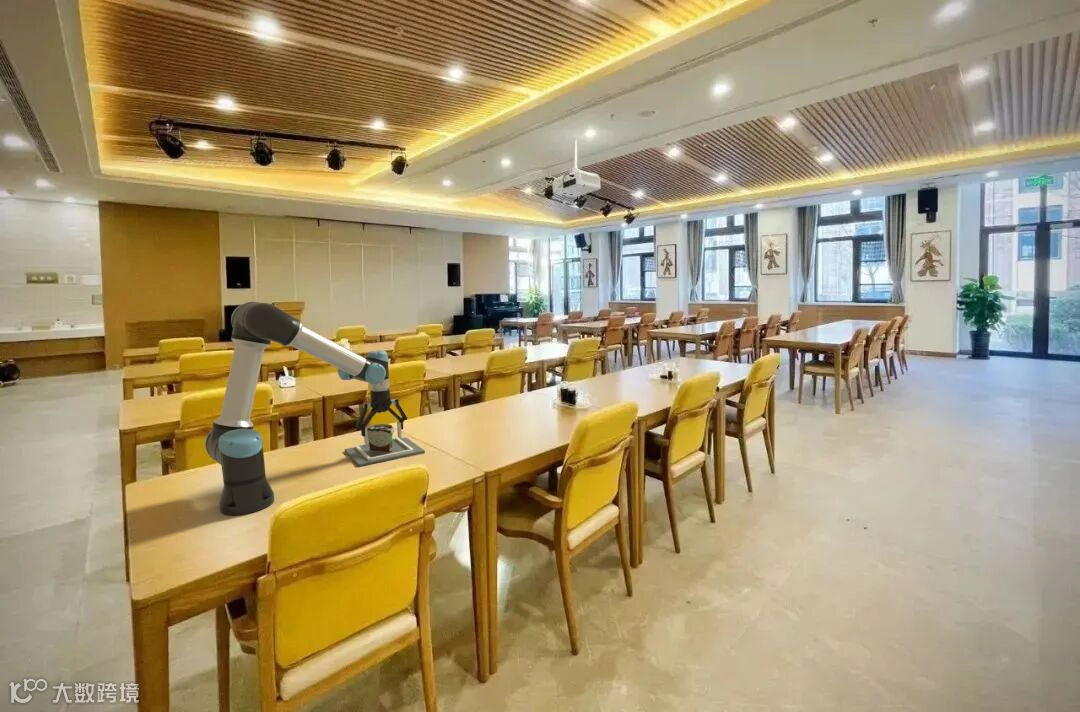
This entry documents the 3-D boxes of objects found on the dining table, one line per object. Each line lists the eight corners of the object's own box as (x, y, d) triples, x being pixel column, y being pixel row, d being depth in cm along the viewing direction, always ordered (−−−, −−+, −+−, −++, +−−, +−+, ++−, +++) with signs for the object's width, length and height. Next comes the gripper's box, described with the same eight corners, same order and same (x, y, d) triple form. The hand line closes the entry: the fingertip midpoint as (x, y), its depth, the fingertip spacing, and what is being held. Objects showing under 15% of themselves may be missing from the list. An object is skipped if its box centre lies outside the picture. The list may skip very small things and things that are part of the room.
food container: (401, 448, 215) (400, 424, 213) (393, 453, 209) (391, 429, 208) (375, 446, 219) (374, 422, 217) (366, 450, 213) (364, 427, 211)
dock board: (359, 466, 198) (358, 461, 197) (344, 451, 216) (344, 446, 215) (424, 452, 212) (424, 448, 212) (406, 439, 230) (405, 435, 230)
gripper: (350, 395, 200) (354, 448, 203) (413, 386, 214) (416, 437, 217) (345, 391, 206) (349, 443, 209) (407, 383, 220) (409, 432, 223)
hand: (383, 440), depth 213 cm, fingers open, 13 cm apart
